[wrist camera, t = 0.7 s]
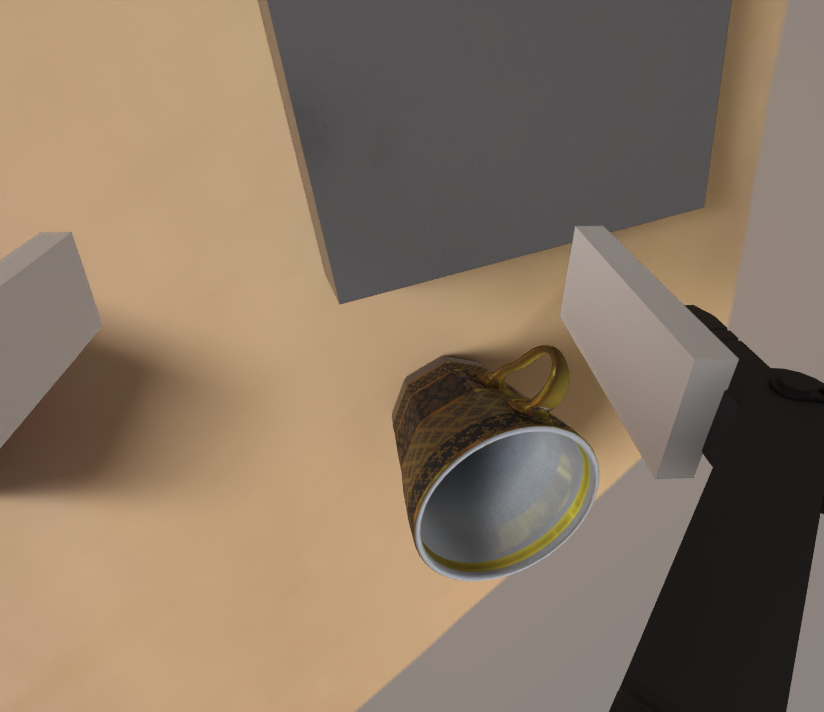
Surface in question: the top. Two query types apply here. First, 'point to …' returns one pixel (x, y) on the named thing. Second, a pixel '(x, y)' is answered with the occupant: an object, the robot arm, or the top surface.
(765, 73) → the top surface
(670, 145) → the stand
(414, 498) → the ceramic cup
